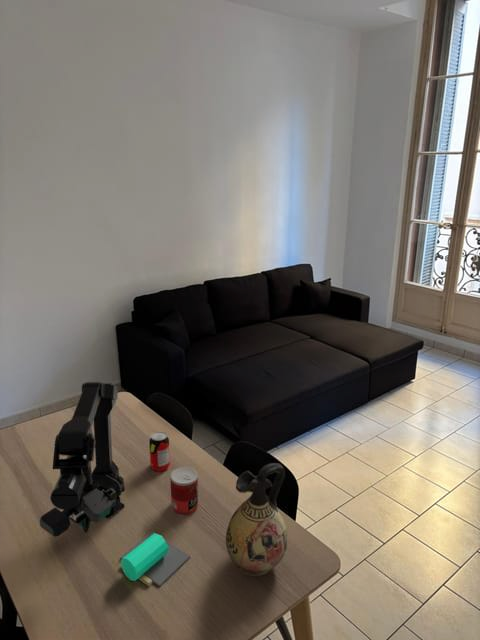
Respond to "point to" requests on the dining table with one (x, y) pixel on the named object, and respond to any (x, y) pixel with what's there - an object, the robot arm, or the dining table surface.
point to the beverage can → (159, 451)
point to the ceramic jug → (257, 524)
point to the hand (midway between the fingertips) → (85, 532)
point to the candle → (144, 556)
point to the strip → (145, 580)
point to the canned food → (184, 490)
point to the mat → (163, 563)
